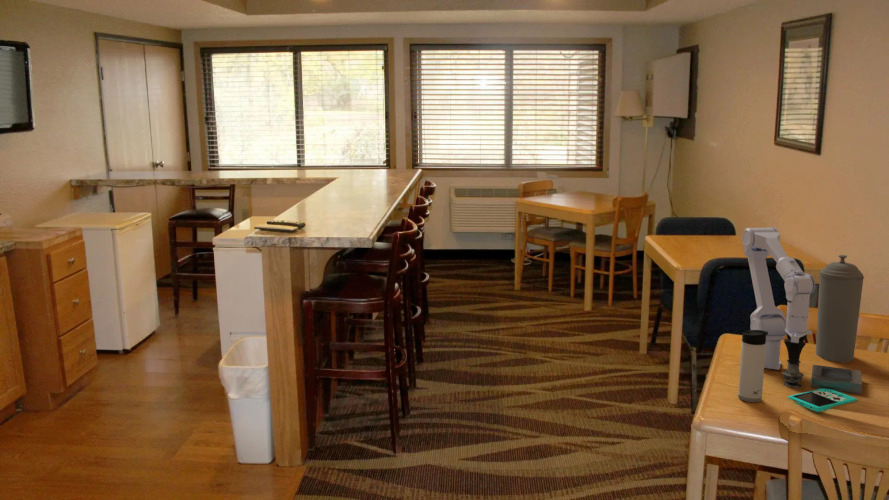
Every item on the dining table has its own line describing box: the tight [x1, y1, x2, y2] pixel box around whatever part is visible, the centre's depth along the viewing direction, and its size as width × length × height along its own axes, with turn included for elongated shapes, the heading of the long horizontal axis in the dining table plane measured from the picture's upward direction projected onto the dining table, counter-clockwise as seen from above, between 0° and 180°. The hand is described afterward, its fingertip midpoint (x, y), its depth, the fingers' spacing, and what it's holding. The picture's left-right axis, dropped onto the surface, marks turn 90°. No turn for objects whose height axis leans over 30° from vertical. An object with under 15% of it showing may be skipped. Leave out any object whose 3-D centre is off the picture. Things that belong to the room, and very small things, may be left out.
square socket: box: [810, 364, 863, 395], centre depth 216 cm, size 13×13×3 cm
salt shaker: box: [781, 357, 805, 389], centre depth 215 cm, size 6×6×12 cm
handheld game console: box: [787, 388, 858, 413], centre depth 204 cm, size 10×16×1 cm, turn 115°
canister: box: [815, 254, 865, 364], centre depth 235 cm, size 13×13×35 cm
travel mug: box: [737, 329, 768, 403], centre depth 204 cm, size 6×7×20 cm
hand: (794, 359), depth 214 cm, fingers open, 7 cm apart
